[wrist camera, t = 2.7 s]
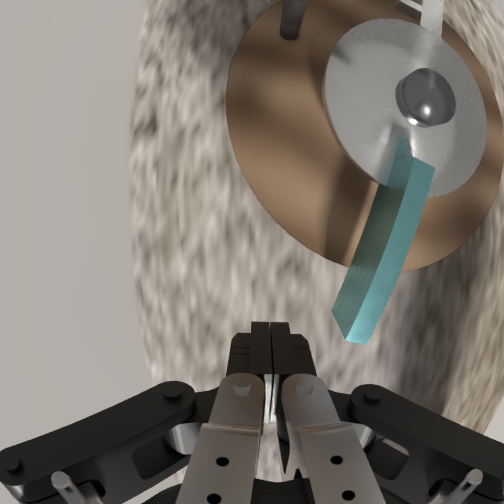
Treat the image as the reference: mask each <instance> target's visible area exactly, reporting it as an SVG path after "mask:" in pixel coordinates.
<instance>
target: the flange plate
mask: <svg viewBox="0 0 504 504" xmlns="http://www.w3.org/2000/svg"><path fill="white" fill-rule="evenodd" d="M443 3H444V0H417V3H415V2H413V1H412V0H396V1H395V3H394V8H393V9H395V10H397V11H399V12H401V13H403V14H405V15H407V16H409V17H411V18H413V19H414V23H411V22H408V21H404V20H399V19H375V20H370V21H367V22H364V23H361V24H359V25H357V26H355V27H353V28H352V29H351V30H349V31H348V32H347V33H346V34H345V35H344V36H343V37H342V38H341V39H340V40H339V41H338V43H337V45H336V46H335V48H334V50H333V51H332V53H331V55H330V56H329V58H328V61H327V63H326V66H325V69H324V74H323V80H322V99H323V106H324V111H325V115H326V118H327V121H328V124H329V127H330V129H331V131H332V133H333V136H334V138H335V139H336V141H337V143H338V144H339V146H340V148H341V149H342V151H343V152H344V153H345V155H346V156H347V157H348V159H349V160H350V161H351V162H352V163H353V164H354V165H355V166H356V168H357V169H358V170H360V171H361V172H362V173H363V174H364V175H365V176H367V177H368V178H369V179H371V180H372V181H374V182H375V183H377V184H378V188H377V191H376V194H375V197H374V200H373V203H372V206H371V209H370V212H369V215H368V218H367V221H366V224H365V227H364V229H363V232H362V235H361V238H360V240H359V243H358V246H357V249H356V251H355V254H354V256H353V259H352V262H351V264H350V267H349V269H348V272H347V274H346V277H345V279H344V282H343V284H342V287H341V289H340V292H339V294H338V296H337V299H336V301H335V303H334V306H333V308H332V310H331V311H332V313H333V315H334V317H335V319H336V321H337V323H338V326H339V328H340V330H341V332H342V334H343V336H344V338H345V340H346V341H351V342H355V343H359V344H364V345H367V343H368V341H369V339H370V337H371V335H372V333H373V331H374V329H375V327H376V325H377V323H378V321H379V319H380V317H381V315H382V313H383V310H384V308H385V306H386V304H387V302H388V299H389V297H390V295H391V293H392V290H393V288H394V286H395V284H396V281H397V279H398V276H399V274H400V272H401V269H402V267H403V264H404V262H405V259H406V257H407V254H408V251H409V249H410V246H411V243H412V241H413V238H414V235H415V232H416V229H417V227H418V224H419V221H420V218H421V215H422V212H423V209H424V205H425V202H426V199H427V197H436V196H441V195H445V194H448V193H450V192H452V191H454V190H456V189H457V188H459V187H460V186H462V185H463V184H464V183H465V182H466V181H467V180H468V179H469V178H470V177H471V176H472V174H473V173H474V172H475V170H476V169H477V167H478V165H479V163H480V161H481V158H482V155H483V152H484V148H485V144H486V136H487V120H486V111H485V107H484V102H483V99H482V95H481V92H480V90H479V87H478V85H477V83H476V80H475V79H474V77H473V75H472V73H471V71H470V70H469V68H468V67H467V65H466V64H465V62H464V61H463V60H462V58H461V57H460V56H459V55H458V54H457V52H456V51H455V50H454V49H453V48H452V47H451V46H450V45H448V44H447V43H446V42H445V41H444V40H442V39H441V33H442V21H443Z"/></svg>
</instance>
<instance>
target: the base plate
mask: <svg viewBox="0 0 504 504" xmlns="http://www.w3.org/2000/svg"><path fill="white" fill-rule="evenodd" d="M395 1H396V0H280V1H278V2H277V3H275V4H274V5H273V6H271V7H270V8H269V9H267V10H266V11H265V12H264V13H263V14H262V15H261V16H260V17H259V18H258V19H257V20H256V21H255V22H254V23H253V24H252V26H251V27H250V29H249V30H248V31H247V33H246V34H245V36H244V37H243V39H242V41H241V43H240V45H239V47H238V49H237V51H236V53H235V55H234V58H233V62H232V65H231V68H230V72H229V76H228V83H227V91H226V117H227V123H228V129H229V135H230V140H231V143H232V146H233V150H234V153H235V156H236V159H237V162H238V164H239V166H240V168H241V170H242V173H243V175H244V177H245V179H246V181H247V183H248V184H249V186H250V188H251V189H252V191H253V193H254V194H255V196H256V197H257V199H258V201H259V202H260V203H261V204H262V206H263V207H264V208H265V209H266V211H267V212H268V213H269V214H270V216H271V217H272V218H273V219H274V220H275V221H276V222H277V223H278V224H279V225H280V226H281V227H282V228H283V229H284V230H285V231H286V232H287V233H288V234H289V235H291V236H292V237H293V238H295V239H296V240H297V241H299V242H300V243H301V244H303V245H304V246H305V247H307V248H308V249H310V250H312V251H313V252H315V253H317V254H319V255H321V256H322V257H324V258H326V259H328V260H331V261H333V262H336V263H338V264H341V265H343V266H346V267H350V264H351V262H352V259H353V256H354V254H355V251H356V249H357V246H358V243H359V240H360V238H361V235H362V232H363V229H364V227H365V224H366V221H367V218H368V215H369V212H370V209H371V206H372V203H373V200H374V197H375V194H376V191H377V188H378V184H377V183H375V182H374V181H372V180H371V179H369V178H368V177H367V176H365V175H364V174H363V173H362V172H361V171H360V170H358V169H357V168H356V166H355V165H354V164H353V163H352V162H351V161H350V160H349V159H348V157H347V156H346V155H345V153H344V152H343V151H342V149H341V148H340V146H339V144H338V143H337V141H336V139H335V138H334V136H333V133H332V131H331V129H330V127H329V124H328V121H327V118H326V115H325V111H324V106H323V99H322V80H323V74H324V69H325V66H326V63H327V61H328V58H329V56H330V55H331V53H332V51H333V50H334V48H335V46H336V45H337V43H338V41H339V40H340V39H341V38H342V37H343V36H344V35H345V34H346V33H347V32H348V31H349V30H351V29H352V28H353V27H355V26H357V25H359V24H361V23H364V22H367V21H370V20H375V19H399V20H404V21H408V22H411V23H414V19H413V18H411V17H409V16H407V15H405V14H403V13H401V12H399V11H397V10H395V9H393V8H394V3H395ZM412 1H413V2H415V3H417V2H416V1H414V0H412ZM441 39H442V40H444V41H445V42H446V43H447V44H448V45H450V46H451V47H452V48H453V49H454V50H455V51H456V52H457V54H458V55H459V56H460V57H461V58H462V60H463V61H464V62H465V64H466V65H467V67H468V68H469V70H470V71H471V73H472V75H473V77H474V79H475V80H476V83H477V85H478V87H479V90H480V92H481V95H482V99H483V102H484V107H485V111H486V120H487V136H486V144H485V148H484V152H483V155H482V158H481V161H480V163H479V165H478V167H477V169H476V170H475V172H474V173H473V174H472V176H471V177H470V178H469V179H468V180H467V181H466V182H465V183H464V184H463V185H462V186H460V187H459V188H457V189H456V190H454V191H452V192H450V193H448V194H445V195H441V196H436V197H427V199H426V202H425V205H424V209H423V212H422V215H421V218H420V221H419V224H418V227H417V229H416V232H415V235H414V238H413V241H412V243H411V246H410V249H409V251H408V254H407V257H406V259H405V262H404V264H403V267H402V269H401V272H404V271H409V270H414V269H419V268H422V267H424V266H427V265H430V264H433V263H435V262H437V261H439V260H441V259H443V258H444V257H446V256H448V255H449V254H451V253H452V252H454V251H455V250H456V249H458V248H459V247H460V246H462V245H463V244H464V243H465V242H466V241H467V240H468V239H469V238H470V237H471V236H472V235H473V233H474V232H475V231H476V229H477V228H478V227H479V226H480V224H481V223H482V222H483V220H484V218H485V216H486V215H487V213H488V211H489V209H490V207H491V205H492V203H493V200H494V198H495V195H496V193H497V189H498V186H499V182H500V178H501V173H502V167H503V157H504V137H503V126H502V121H501V115H500V110H499V107H498V103H497V100H496V97H495V94H494V91H493V89H492V86H491V84H490V81H489V79H488V77H487V75H486V73H485V71H484V69H483V68H482V66H481V64H480V62H479V61H478V59H477V58H476V56H475V55H474V53H473V52H472V50H471V49H470V48H469V46H468V45H467V44H466V43H465V42H464V40H463V39H462V38H461V37H460V36H459V35H458V34H457V33H456V32H455V31H454V30H453V29H452V28H451V27H450V26H449V25H448V24H447V23H446V22H445V21H444V20H443V21H442V33H441Z"/></svg>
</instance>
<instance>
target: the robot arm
mask: <svg viewBox="0 0 504 504" xmlns="http://www.w3.org/2000/svg"><path fill="white" fill-rule="evenodd" d="M269 415H270V423H277V434H276V445H277V452H278V458H279V464H280V471H281V477H282V482H270V481H265V480H260V479H256V475H257V467H258V458H259V449H260V440H261V436H262V434H263V427H264V423H265V424H268V417H269ZM379 434H380V435H382V436H384V437H385V438H384V439H383V440H382V441H381V440H379V439H378V436H379ZM186 465H188V467H187V470H186V473H185V476H184V479H183V482H182V484H178V485H175V486H172V487H169V488H167V489H165V490H163V491H161V492H159V493H158V494H156V495H154V496H153V497H151V498H150V499H148V500H147V501H145V502H144V503H142V504H504V444H503V443H501V442H499V441H496V440H494V439H491V438H489V437H487V436H484V435H482V434H480V433H477V432H475V431H473V430H471V429H468V428H466V427H464V426H462V425H460V424H457V423H455V422H453V421H451V420H449V419H446V418H444V417H442V416H440V415H438V414H436V413H434V412H432V411H430V410H428V409H425V408H423V407H421V406H419V405H417V404H415V403H413V402H411V401H409V400H407V399H405V398H403V397H401V396H399V395H397V394H395V393H393V392H391V391H389V390H387V389H386V388H384V387H381V386H378V385H374V384H364V385H360V386H358V387H356V388H355V389H354V390H353V391H352V393H351V395H350V394H344V393H338V392H334V391H331V390H329V389H327V387H326V385H325V383H324V382H323V380H321V379H320V378H318V377H317V374H316V370H315V366H314V362H313V359H312V356H311V351H310V347H309V344H308V341H307V340H306V339H305V338H304V337H303V336H302V335H301V334H290V328H289V323H288V322H270V327H269V322H251V333H237V334H236V335H235V336H234V337H233V338H232V341H231V348H230V354H229V360H228V366H227V372H226V377H225V378H224V379H222V381H221V383H220V386H219V387H217V388H215V389H212V390H209V391H203V392H196V393H195V391H194V389H193V388H192V387H191V386H190V385H188V384H186V383H184V382H179V381H167V382H163V383H161V384H158V385H156V386H154V387H152V388H150V389H148V390H146V391H144V392H142V393H140V394H138V395H136V396H133V397H131V398H129V399H127V400H125V401H123V402H121V403H118V404H116V405H114V406H112V407H110V408H107V409H105V410H103V411H101V412H98V413H96V414H94V415H92V416H89V417H87V418H85V419H82V420H80V421H77V422H75V423H73V424H70V425H68V426H65V427H62V428H60V429H57V430H55V431H52V432H50V433H47V434H45V435H42V436H39V437H36V438H34V439H31V440H28V441H25V442H23V443H20V444H17V445H14V446H11V447H8V448H5V449H3V450H2V451H0V482H1V483H2V484H3V485H4V486H5V487H6V488H7V489H8V490H9V492H10V493H11V495H12V496H13V497H14V498H15V499H16V500H17V501H18V502H19V503H20V504H122V503H124V502H126V501H128V500H130V499H131V498H133V497H135V496H137V495H139V494H141V493H142V492H144V491H146V490H148V489H149V488H151V487H153V486H155V485H156V484H158V483H160V482H161V481H163V480H164V479H166V478H168V477H169V476H171V475H173V474H174V473H176V472H177V471H179V470H180V469H182V468H183V467H185V466H186Z"/></svg>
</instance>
